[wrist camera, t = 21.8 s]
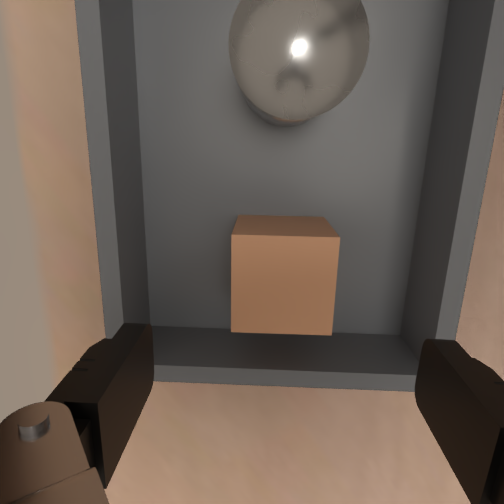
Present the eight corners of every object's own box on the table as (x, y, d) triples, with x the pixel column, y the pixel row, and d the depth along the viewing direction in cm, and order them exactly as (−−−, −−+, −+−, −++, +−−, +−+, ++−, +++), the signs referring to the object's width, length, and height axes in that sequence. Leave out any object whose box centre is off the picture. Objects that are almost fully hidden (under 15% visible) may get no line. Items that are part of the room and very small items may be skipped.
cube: (238, 214, 22) (231, 234, 18) (324, 216, 22) (340, 237, 17) (237, 293, 24) (230, 332, 19) (318, 296, 24) (331, 335, 19)
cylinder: (241, 23, 20) (228, -38, 13) (338, 24, 20) (377, -37, 13) (239, 125, 21) (228, 118, 14) (330, 127, 21) (362, 121, 14)
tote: (110, -103, 19) (57, -187, 14) (479, -100, 18) (556, -185, 14) (138, 334, 26) (109, 379, 21) (410, 344, 25) (445, 392, 20)
